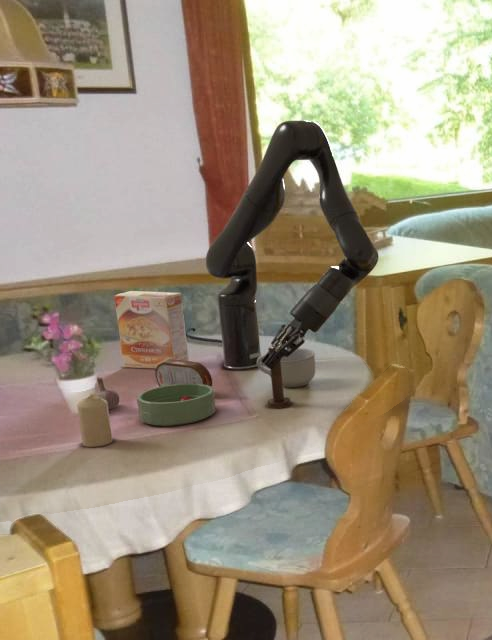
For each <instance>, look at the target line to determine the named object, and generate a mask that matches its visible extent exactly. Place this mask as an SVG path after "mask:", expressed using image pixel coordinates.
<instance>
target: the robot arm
mask: <svg viewBox="0 0 492 640" xmlns="http://www.w3.org/2000/svg"><path fill="white" fill-rule="evenodd" d="M295 161H309V162H310V163H311V164H312V166H313V167H314V169H315V171H316V173H317V176H318V182H319V183H318V184H319V185H318V186H319V188H318V189H319V190H318V201H319V206H320V209H321V212H322V214H323V216H324V218H325V220H326V222H327V224H328V225H329V227H330V229H331V231H332V232H333V234H334V235H335V238H336V240H337V242H338V244H339V246H340V249H341V251H342V254H343V255H344V258H343V259H342V260H341V261H340V262H339V263H338V264H337V265H336V266H331V267H329V268H328V269H327V270H326V271H325V272H324V273H323V275H322V276H321V277H320V278H319V279H318V281H316V283H315V284H313V285H312V286H311V287H310V288H309V289H308V290H307V291H306V292H305V294H304V295H303V296H302V297H301V298H300V300H299V301H297V303H296V304H295V305H294V306H293V308H292V309H291V310H290V311H289V314H290V316H292V317H293V318H294V319H292V320H291V321H290V322H289V323H287V324H282V325H281V327H279V330H278V331H277V333H276V334H275V336H274V338H273V339H272V341H271V342H270V345H271V346H278V347H277V348H276V349H275V352H273V353H272V354H271V355H270V356H269V350H268V351H267V352H266V354H264V355H265V356H264V357H263V358H262V360H261V364H262V365H263V366H264V367H267V369H268V370H270V369H273V368H274V367H275V365H276V364H277V363H278V362H279V361H280V360H281V358H282V357H283V358H284V357H285V356H286V357H288V356H289V355H291V354H292V353H293V352H294V351H295V350H296V349H298V348H300V347H301V346H302V345H304V344H305V343H306V340H304V338H305V336H306V334H307V333H308V331H309V330H310V331H311V332H312V333H317V332H318V331H319V330H320V329H321V328H322V327H323V325H324V324H325V323H326V322H327V321H328V319H329V318H330V317H332V315H333V314H334V312H335V311H336V310H337V309H338V307H339V305H340V304H341V302H342V301H343V300H344V299H345V298H346V297H347V295H348V294H349V293H350V292H351V290H352V289H353V288H354V287H355V286H356V285H358V284H359V283H361V281H363V280H364V279H365V278H366V277H367V276H368V275H369V274H370V273H371V272H372V271H373V270H374V269H375V267H376V266H377V264H378V262H379V252H378V250H377V247H375V245H374V243H373V242H372V240H371V238H370V237H369V235H368V233H367V232H366V229H365V228H364V226H363V225H362V221H361V219H360V216H359V214H358V212H357V210H356V208H355V207H354V204H353V203H352V201H351V199H350V197H349V195H348V192H347V191H346V188H345V186H344V184H343V180H342V178H341V175H340V172H339V169H338V165H337V163H336V160H335V157H334V154H333V152H332V148H331V145H330V142H329V140H328V137H327V134H326V132H325V130H324V128H323V127H322V126H321V125H320V124H319V123H317V122H315V121H312V120H285V121H282V122H281V123H280V124H278V125H277V127H276V128H275V130H274V131H273V134H272V136H271V138H270V140H269V143H268V146H267V148H266V150H265V153H264V155H263V158H262V160H261V162H260V164H259V166H258V168H257V170H256V172H255V174H254V175H253V178H252V179H251V181H250V183H249V184H248V186H247V188H246V189H245V191H244V192H243V194H242V196H241V198H240V200H239V202H238V204H237V206H236V208H235V209H234V211H233V213H231V216H230V217H229V219H228V221H227V223H226V225H225V226H224V227H223V229H222V231H220V233H219V234H218V235H217V237H216V238H215V239H214V240H213V242H212V243H211V245H210V246H209V248H208V249H207V252H206V255H205V267H206V270H207V272H208V274H209V275H210V276H212V277H213V278H216V279H219V280H220V279H221V280H224V279H225V280H226V279H230V280H229V282H228V283H227V285H226V286H225V287H224V288H223V289H221V290H220V291H219V292H218V293H217V306H218V307H217V308H218V316H219V325H220V334H221V339H217V338H207V337H201V336H194V335H190V332H191V331H192V332H195V331H196V328H195V326H190V327H189V328H187V330H186V331H185V332H186V338H188V339H190V340H196V341H202V342H210V343H219V344H221V345H222V353H223V361H224V362H223V363H224V364H223V367H224V368H225V369H227V370H232V371H237V370H238V371H241V370H250V369H255V368H258V366H257V359H258V358H259V357H260V356H262V353H261V342H260V331H259V321H258V311H257V302H256V295H257V291H258V276H257V259H256V254H255V251H254V248H253V246H251V244H250V243H249V242H251V241H252V240H253V239H255V238H256V237H257V236H259V235H260V234H261V233H262V232H264V231H265V230H266V229H267V228H269V227H270V226H271V225H272V224H273V223H274V222H275V220H276V218H277V217H278V215H279V214H280V212H281V210H282V209H283V206H284V204H285V202H286V188H285V183H284V178H285V175H286V174H287V172H288V170H289V168H290V167H291V165H292V164H293V163H294V162H295Z"/></svg>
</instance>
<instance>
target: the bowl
mask: <svg viewBox="0 0 492 640" xmlns="http://www.w3.org/2000/svg"><path fill="white" fill-rule="evenodd" d="M183 397H189V398H191V399H189V400H184V401H180V400H181V399H182V398H183ZM215 399H216V398H215V390H214V387H213V386H212V387H211V386H208V385H203V384H192V383H189V384H174V385H166V386H161V387H159V386H157V387H154V388H150V389H147V390H144V391H142V392H139V394H138V395H137V396H136V401H137V408H138V409H137V410H138V416H139V421H140V422H142V423H143V424H148V425H151V426H157V427H174V426H182V425H189V424H193V423H197V422H200V421H202V420H204V419H207V418H208V417H211V416H212V415H214V414H215V412H216V411H217V409H216V408H217V407H216V400H215Z"/></svg>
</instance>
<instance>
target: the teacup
mask: <svg viewBox="0 0 492 640" xmlns="http://www.w3.org/2000/svg"><path fill="white" fill-rule="evenodd" d="M265 355H266V354H261V356H260V357H259V358H258V359H257V366H258V367H257V368H258V370H260V371H261V372H262V373H264V374H266V375H268V376H269V377H270V378H271V371H270V369H269V368H266V367H265V366H264V365H263V363H262V364H261V360H262V358H263V357H264V356H265ZM315 356H316V352H315V351H314V350H312V349H309V348H302V347H301V348H300V347H299V348H298V349H296V350H295V351H294V352H293V353H292V354H291V355H289V356H288V357H286V356H285V357H284V358H283V357H282V358H281V371H282V381H283V388H300V387H304V386H306V385H307V384H309V383H310V382H311V381H312V380H313V379H314V377H315V375H316V359H315Z"/></svg>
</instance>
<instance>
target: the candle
mask: <svg viewBox="0 0 492 640" xmlns="http://www.w3.org/2000/svg"><path fill="white" fill-rule="evenodd" d="M90 395H91V394H90ZM90 395H88V396H87V397H85V398H82V400H80V401H79V402H78V403H77V404H76V407H77V414H78V422H79V428H80V434H81V441H82V445H83V446H84V447H86V448H87V447H88V448H94V447H95V448H96V447H102V446H106V445H109V444H110V443H112V442H113V433H112V426H111V419H110V412H109V411H110V410H109V411H108V404H107V401H106V400H104V399H102V398H101V397H98V396H97V395H91V396H90Z"/></svg>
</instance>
